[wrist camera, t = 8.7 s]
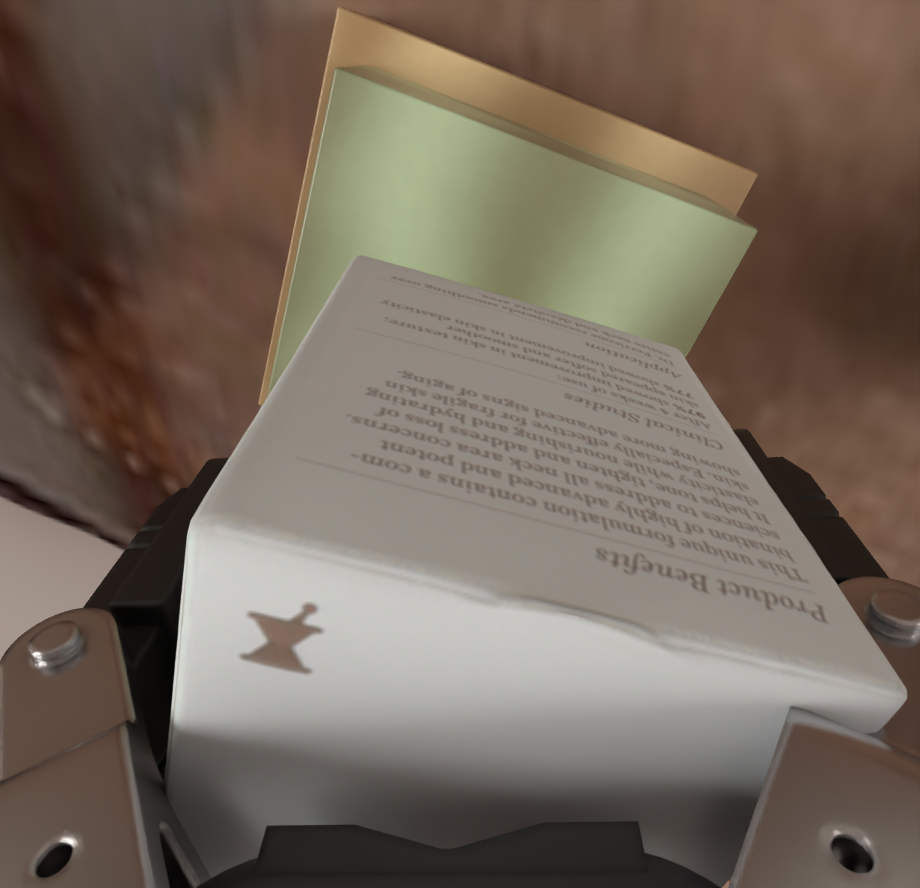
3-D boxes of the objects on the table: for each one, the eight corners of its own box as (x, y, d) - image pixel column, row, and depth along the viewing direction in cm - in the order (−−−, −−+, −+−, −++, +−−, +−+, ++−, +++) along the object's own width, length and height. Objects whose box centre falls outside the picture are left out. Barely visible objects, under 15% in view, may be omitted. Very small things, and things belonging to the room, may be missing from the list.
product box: (294, 518, 14) (130, 910, 7) (354, 240, 11) (163, 507, 4) (564, 588, 14) (621, 998, 8) (693, 347, 11) (945, 707, 5)
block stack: (288, 358, 26) (214, 468, 19) (363, 14, 20) (296, -9, 13) (568, 447, 27) (594, 579, 20) (716, 154, 21) (824, 202, 14)
